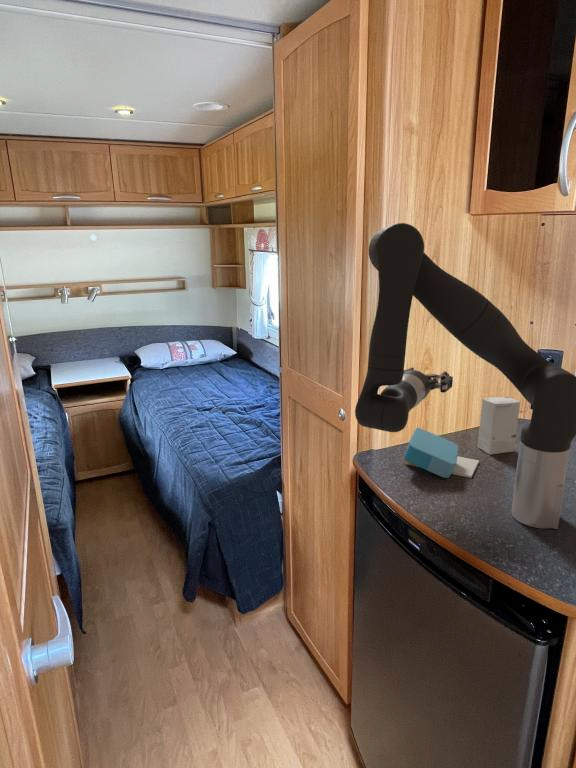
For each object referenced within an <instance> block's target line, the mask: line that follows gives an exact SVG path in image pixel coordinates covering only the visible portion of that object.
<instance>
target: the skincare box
mask: <svg viewBox="0 0 576 768" xmlns="http://www.w3.org/2000/svg"><path fill="white" fill-rule="evenodd" d="M520 406H521V401H519V400H517V399H514V398H511V397H509V396H495V397H494V396H493V397H486V398H485V397H484V398H482V401H481V410H480V419H479V428H478V430H479V431H478V439H477V448H478V449H480V450H482V451H483V452H484V453H486V454H487V455H490V456H491V455H492V456H493V455H497V454H503V453H512V452H515V448H516V447H515V445H516V438H517V431H518V430H517V429H518V422H519V414H520Z"/></svg>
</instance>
